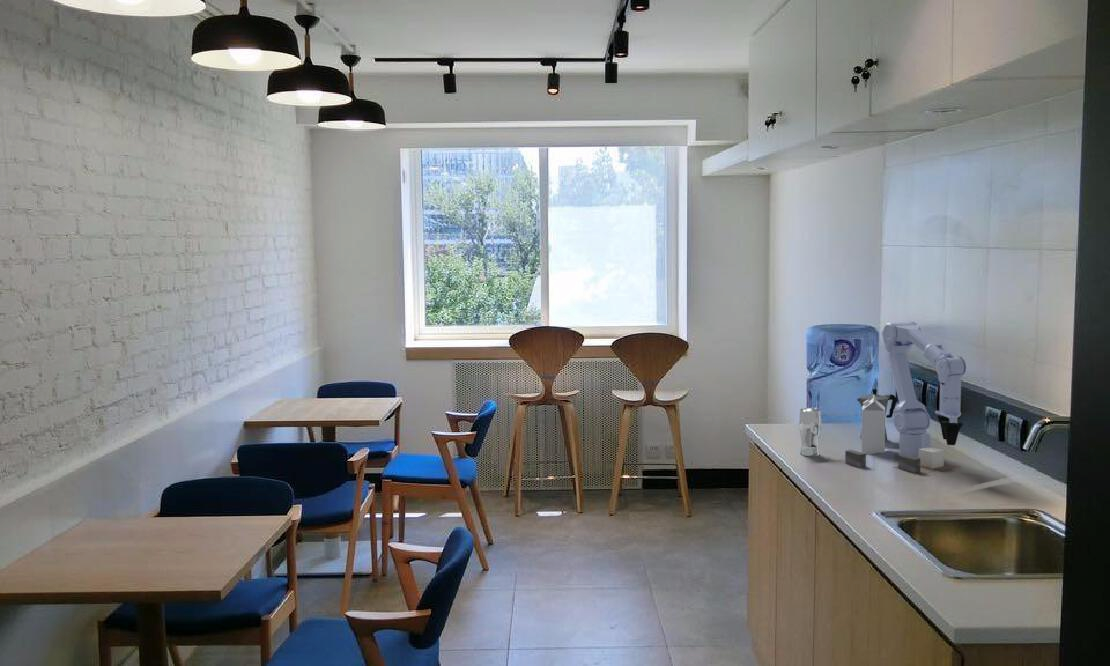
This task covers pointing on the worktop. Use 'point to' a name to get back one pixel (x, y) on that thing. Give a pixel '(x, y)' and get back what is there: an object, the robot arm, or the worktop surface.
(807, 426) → the silver drinking tumbler
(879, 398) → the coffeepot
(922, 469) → the walnut strip
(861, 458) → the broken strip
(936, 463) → the ceramic block
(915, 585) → the worktop surface
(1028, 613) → the worktop surface
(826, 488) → the worktop surface
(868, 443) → the milk carton
